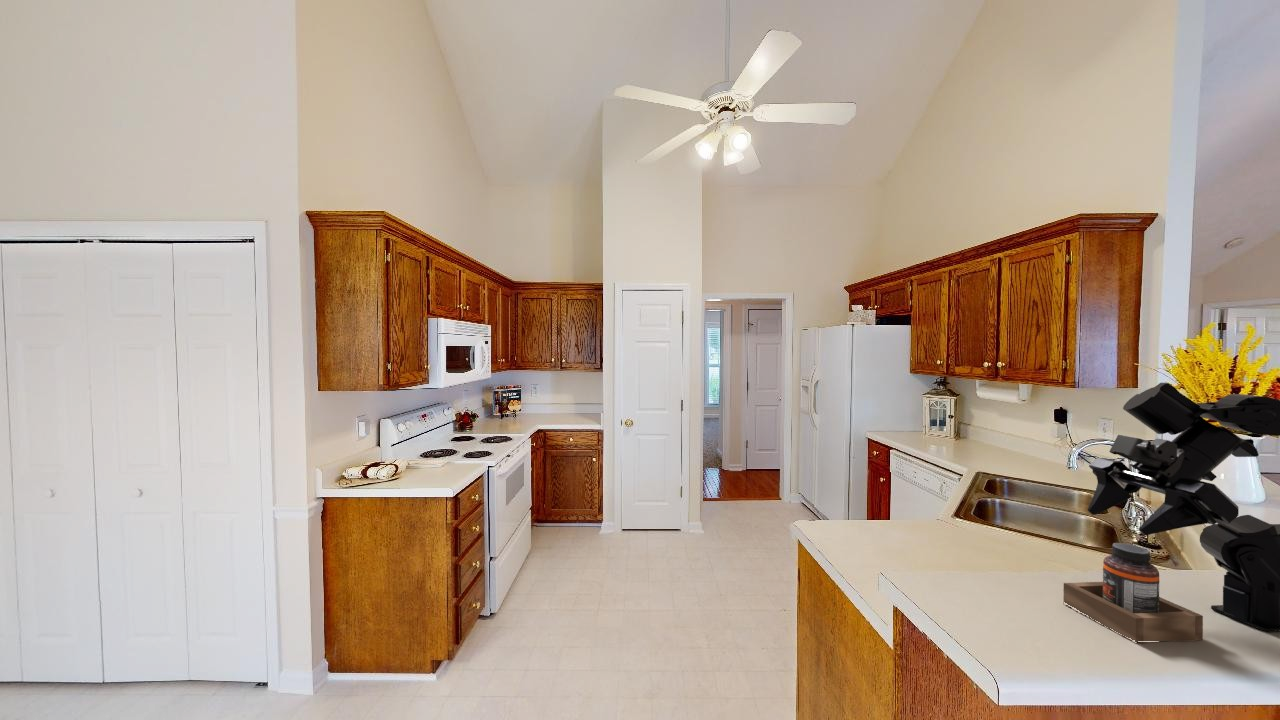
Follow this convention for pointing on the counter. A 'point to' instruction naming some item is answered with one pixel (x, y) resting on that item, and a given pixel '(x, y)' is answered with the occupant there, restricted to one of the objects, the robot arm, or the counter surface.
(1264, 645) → the counter surface
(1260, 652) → the counter surface
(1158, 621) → the socket collar
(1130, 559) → the supplement bottle
